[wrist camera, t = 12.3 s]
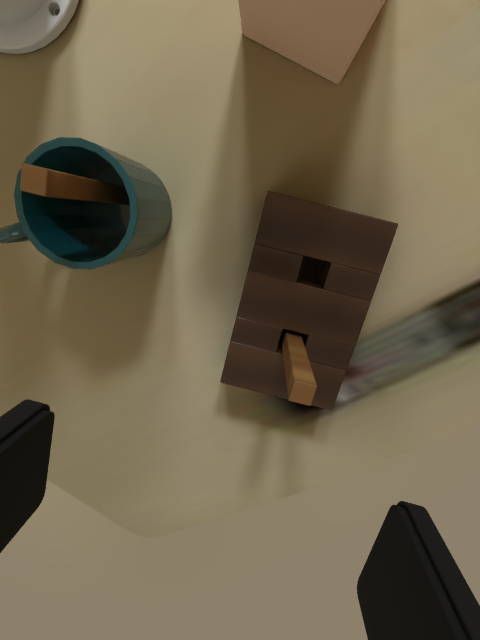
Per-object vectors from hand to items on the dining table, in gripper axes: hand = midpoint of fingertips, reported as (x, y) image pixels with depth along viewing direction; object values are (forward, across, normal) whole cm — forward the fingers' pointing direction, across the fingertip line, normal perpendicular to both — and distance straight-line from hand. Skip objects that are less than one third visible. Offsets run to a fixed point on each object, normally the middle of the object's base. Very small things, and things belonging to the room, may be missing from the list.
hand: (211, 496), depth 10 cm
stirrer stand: (+25, -4, -2) cm, 25 cm away
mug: (+25, +15, -5) cm, 29 cm away
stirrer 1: (+24, +13, -7) cm, 28 cm away
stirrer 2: (+25, -4, +2) cm, 25 cm away
